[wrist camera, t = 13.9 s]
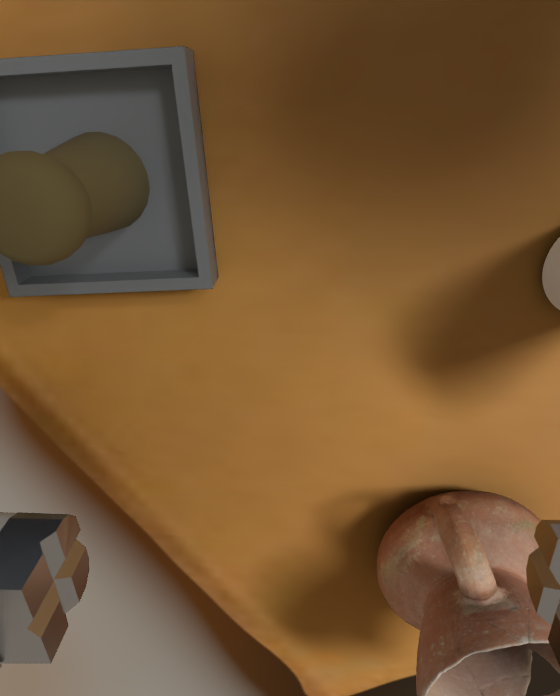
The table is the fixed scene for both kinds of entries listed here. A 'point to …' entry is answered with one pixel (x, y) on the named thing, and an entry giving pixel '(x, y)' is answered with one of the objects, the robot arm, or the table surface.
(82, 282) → the tray
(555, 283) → the can
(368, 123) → the table surface
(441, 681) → the ceramic jug
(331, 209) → the table surface
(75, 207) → the olive tapered rounded piece
